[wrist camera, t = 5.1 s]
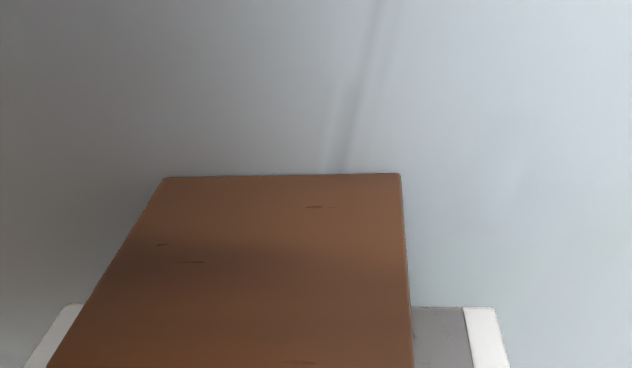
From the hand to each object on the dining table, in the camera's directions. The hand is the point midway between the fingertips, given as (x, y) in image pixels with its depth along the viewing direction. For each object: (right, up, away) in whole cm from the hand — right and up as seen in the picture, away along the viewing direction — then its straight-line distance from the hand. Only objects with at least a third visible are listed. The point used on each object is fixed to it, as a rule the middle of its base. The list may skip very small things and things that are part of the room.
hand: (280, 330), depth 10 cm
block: (0, +1, +1) cm, 2 cm away
